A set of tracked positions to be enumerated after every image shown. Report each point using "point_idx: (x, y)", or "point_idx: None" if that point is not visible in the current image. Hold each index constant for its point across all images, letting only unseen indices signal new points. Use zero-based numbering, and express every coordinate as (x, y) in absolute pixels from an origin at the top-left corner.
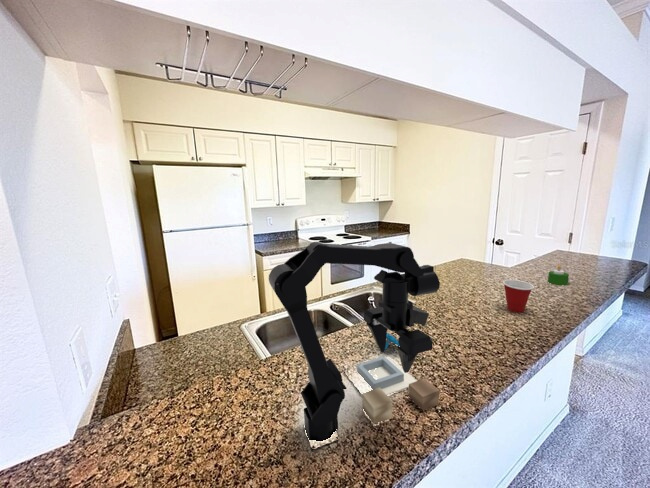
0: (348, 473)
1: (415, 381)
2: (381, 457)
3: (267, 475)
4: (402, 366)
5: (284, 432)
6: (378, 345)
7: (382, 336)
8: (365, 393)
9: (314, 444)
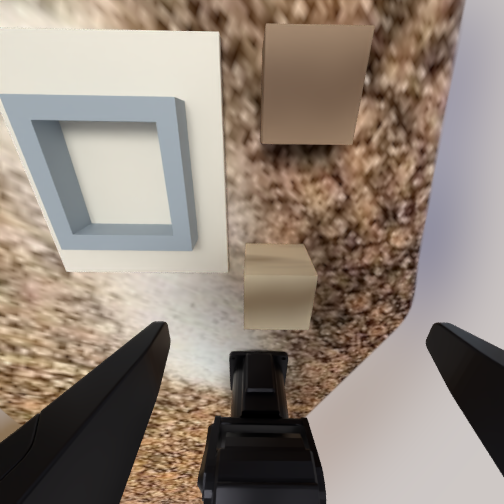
0: (347, 361)
1: (206, 45)
2: (361, 311)
3: None
4: (463, 404)
5: (227, 405)
6: (147, 414)
7: (81, 492)
8: (247, 322)
9: None
